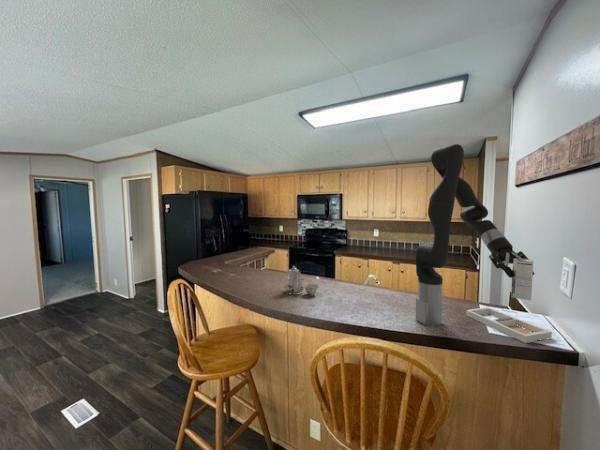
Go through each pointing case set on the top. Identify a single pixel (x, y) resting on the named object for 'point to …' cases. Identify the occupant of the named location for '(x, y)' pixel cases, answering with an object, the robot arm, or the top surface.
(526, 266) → the syrup box
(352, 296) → the top surface
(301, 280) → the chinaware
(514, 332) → the two-slot holder
